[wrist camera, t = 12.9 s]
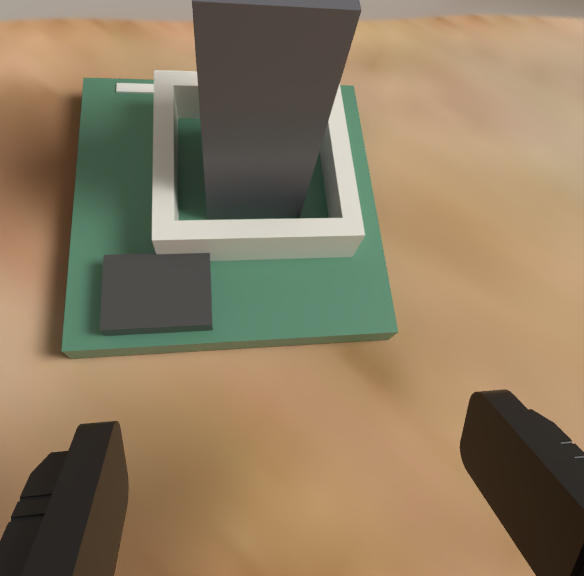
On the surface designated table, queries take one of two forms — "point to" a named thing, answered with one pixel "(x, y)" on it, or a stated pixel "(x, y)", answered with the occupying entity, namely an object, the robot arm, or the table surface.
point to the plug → (266, 98)
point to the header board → (212, 237)
